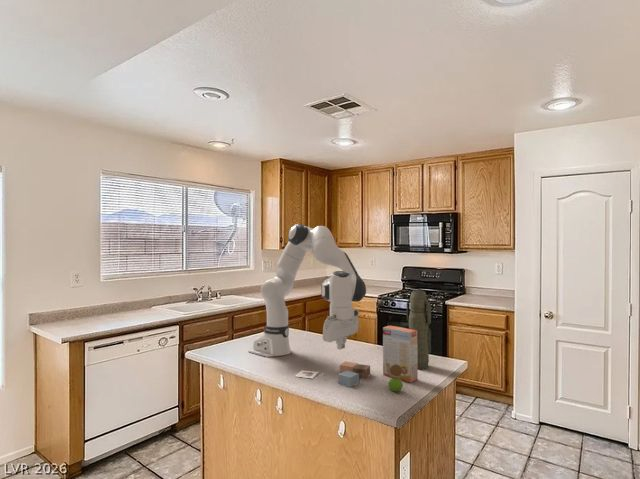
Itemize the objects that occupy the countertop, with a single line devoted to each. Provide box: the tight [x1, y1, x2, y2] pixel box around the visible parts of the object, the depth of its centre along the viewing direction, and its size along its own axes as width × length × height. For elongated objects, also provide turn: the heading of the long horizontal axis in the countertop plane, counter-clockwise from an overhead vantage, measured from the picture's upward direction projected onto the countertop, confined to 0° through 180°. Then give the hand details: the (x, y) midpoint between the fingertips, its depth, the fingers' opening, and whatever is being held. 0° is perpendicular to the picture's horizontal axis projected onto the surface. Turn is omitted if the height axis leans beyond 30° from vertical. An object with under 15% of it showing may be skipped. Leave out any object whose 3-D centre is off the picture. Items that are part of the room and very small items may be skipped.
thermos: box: [406, 289, 432, 370], centre depth 179 cm, size 9×12×35 cm
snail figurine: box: [386, 359, 404, 393], centre depth 150 cm, size 5×6×12 cm
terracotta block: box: [339, 361, 359, 374], centre depth 171 cm, size 6×6×4 cm
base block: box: [353, 363, 371, 380], centre depth 167 cm, size 6×6×4 cm
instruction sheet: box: [294, 369, 319, 380], centre depth 168 cm, size 8×8×1 cm
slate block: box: [338, 371, 360, 388], centre depth 158 cm, size 6×6×4 cm
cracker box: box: [382, 325, 419, 383], centre depth 165 cm, size 14×6×21 cm, turn 43°
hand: (341, 348), depth 151 cm, fingers closed
